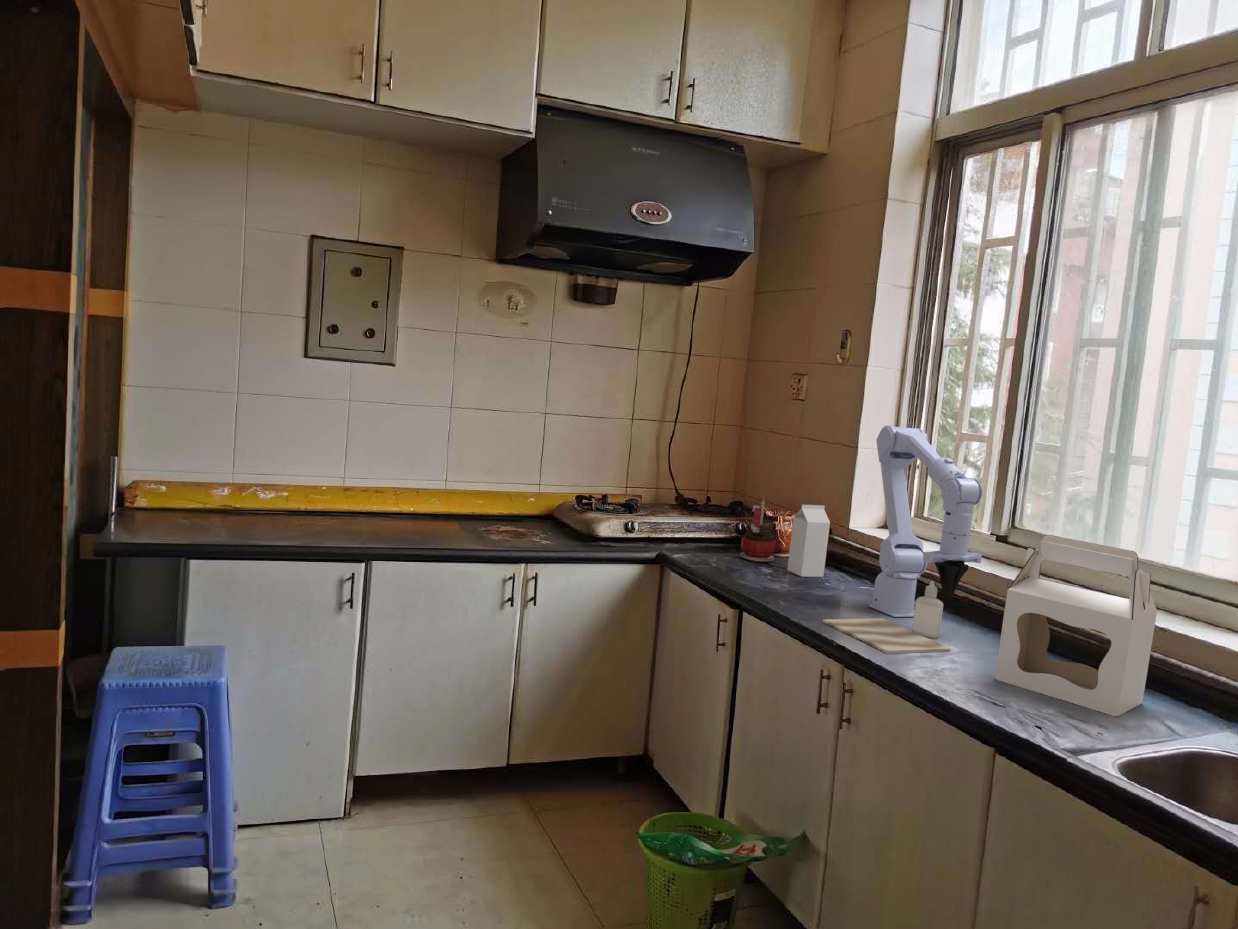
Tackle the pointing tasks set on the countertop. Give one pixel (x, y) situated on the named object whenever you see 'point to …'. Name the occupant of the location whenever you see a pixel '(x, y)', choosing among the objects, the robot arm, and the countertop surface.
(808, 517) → the milk carton
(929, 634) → the eye dropper bottle
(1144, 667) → the gable box
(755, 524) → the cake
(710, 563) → the countertop surface
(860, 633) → the birch board
